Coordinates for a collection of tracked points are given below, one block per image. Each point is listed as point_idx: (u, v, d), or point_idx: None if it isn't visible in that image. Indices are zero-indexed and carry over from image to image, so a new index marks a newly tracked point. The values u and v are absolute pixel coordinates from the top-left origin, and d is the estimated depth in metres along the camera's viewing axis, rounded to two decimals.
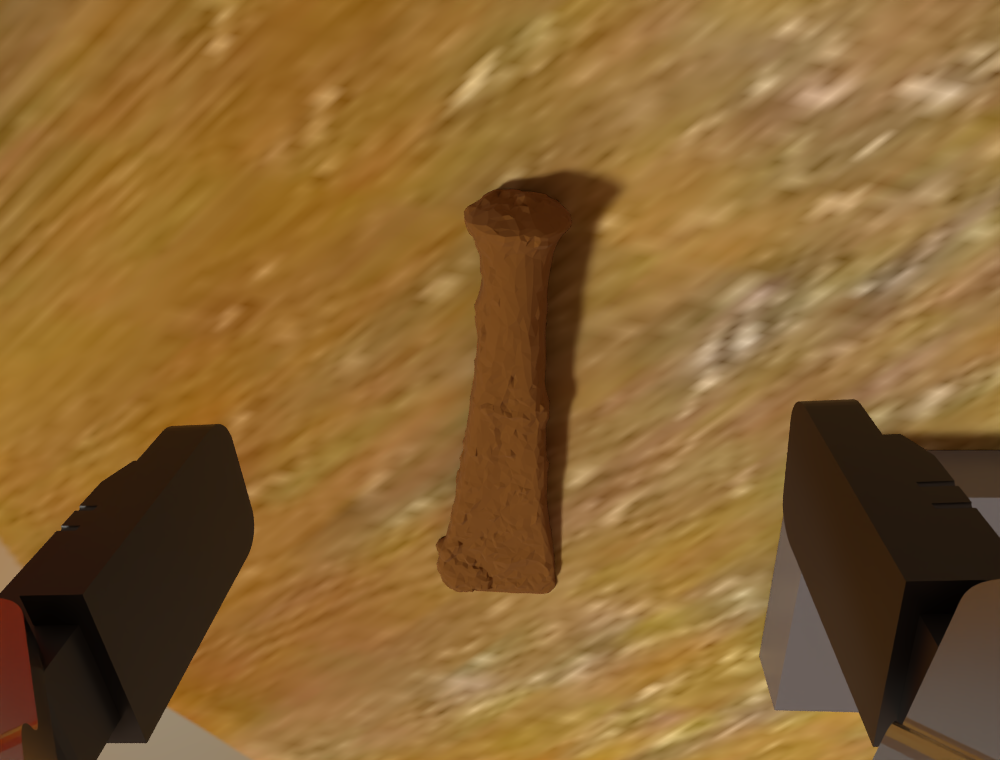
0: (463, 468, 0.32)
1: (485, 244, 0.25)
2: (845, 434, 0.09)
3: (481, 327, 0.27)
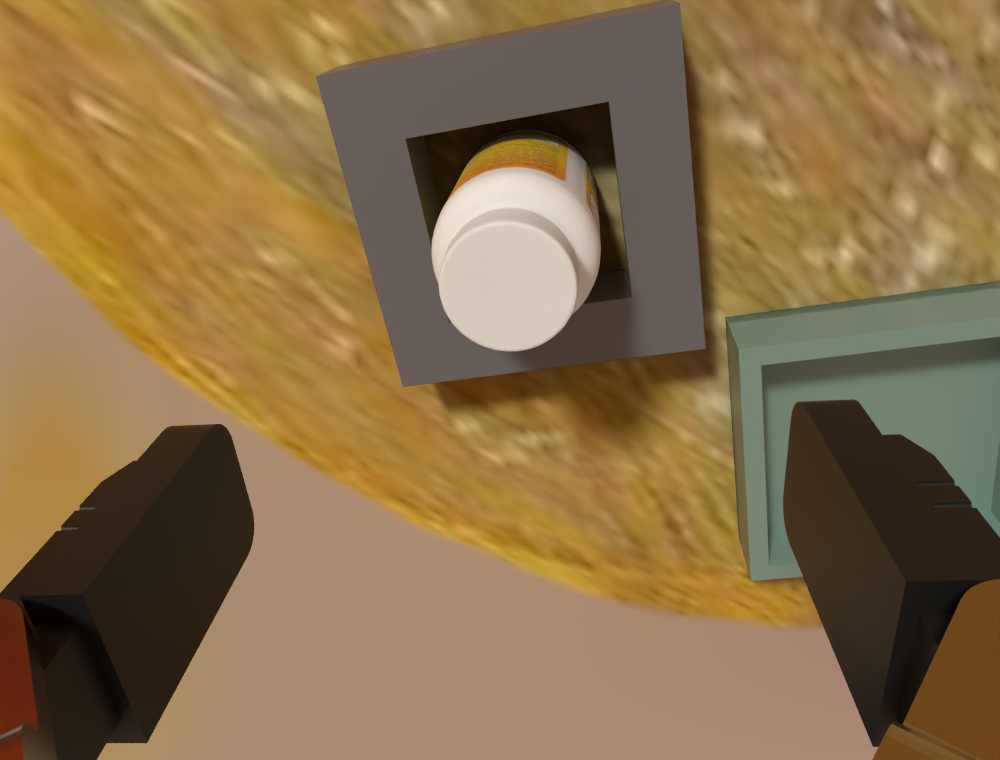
0: None
1: None
2: (845, 434, 0.09)
3: None
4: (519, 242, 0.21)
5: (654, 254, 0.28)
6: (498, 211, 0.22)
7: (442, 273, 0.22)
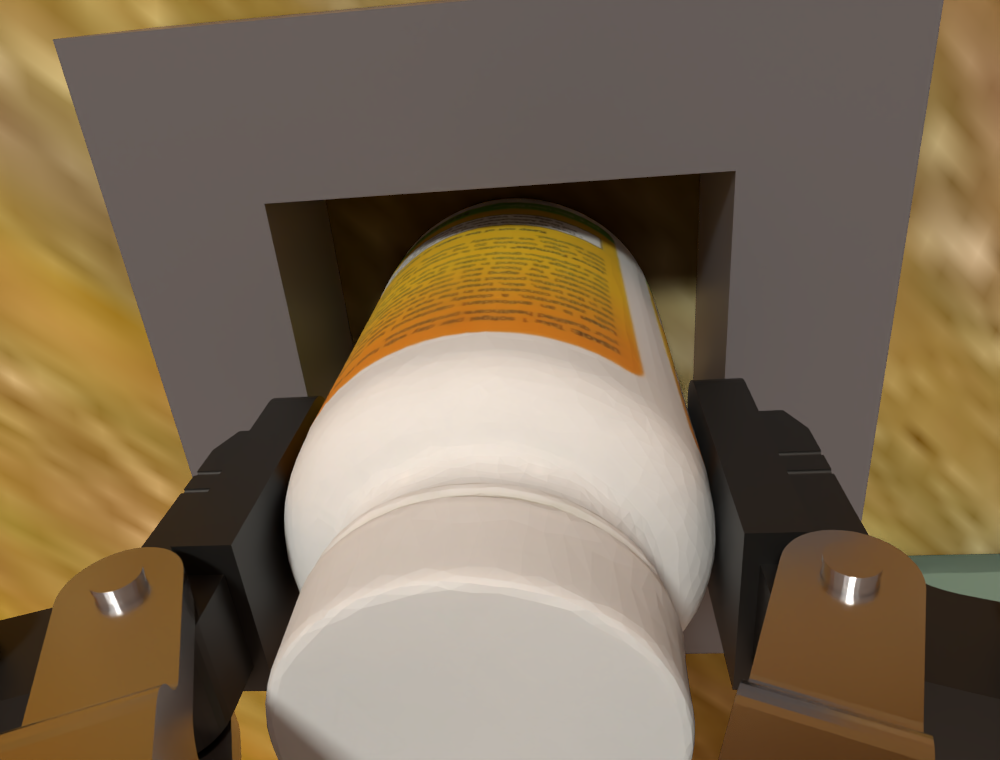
0: None
1: None
2: (724, 408, 0.10)
3: None
4: (529, 641, 0.06)
5: None
6: (467, 504, 0.07)
7: (275, 689, 0.07)
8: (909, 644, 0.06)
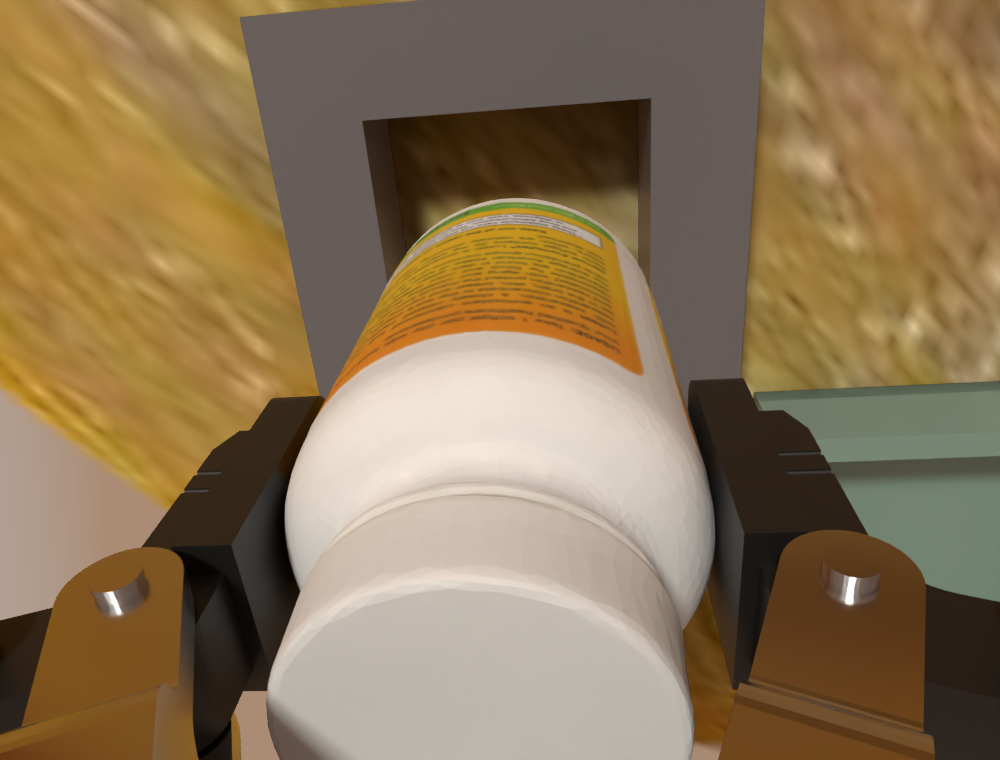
0: None
1: None
2: (724, 408, 0.10)
3: None
4: (527, 639, 0.06)
5: (686, 310, 0.21)
6: (466, 503, 0.07)
7: (276, 687, 0.07)
8: (909, 644, 0.06)
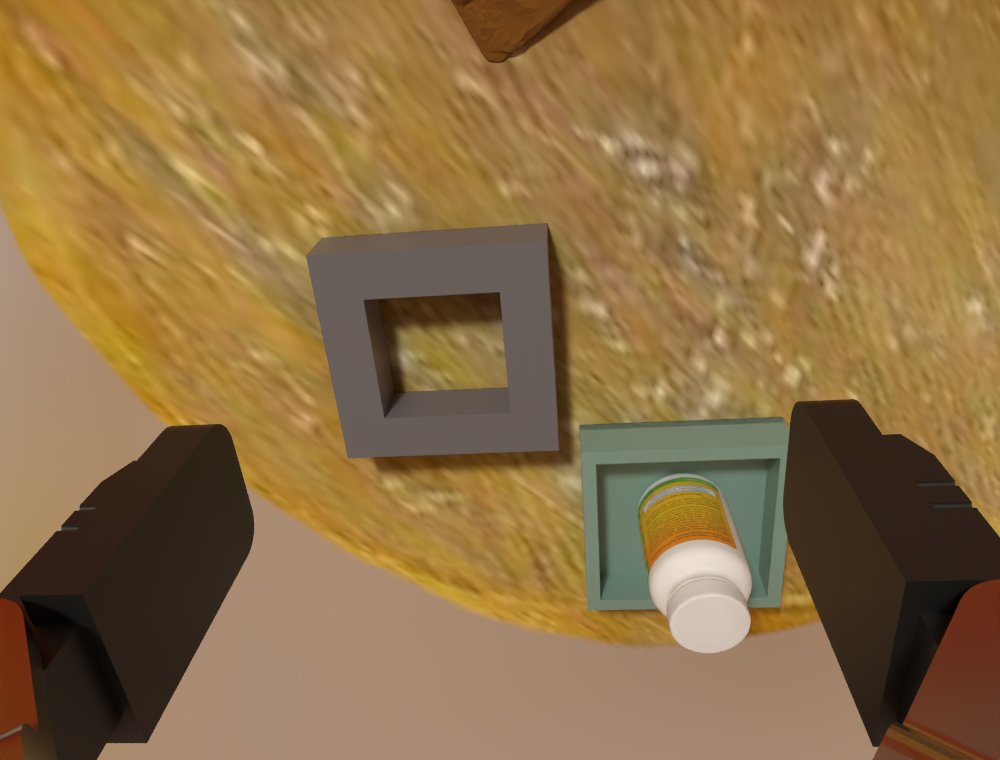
0: None
1: None
2: (845, 434, 0.09)
3: None
4: (723, 605, 0.38)
5: (526, 387, 0.41)
6: (710, 580, 0.38)
7: (675, 613, 0.38)
8: None
